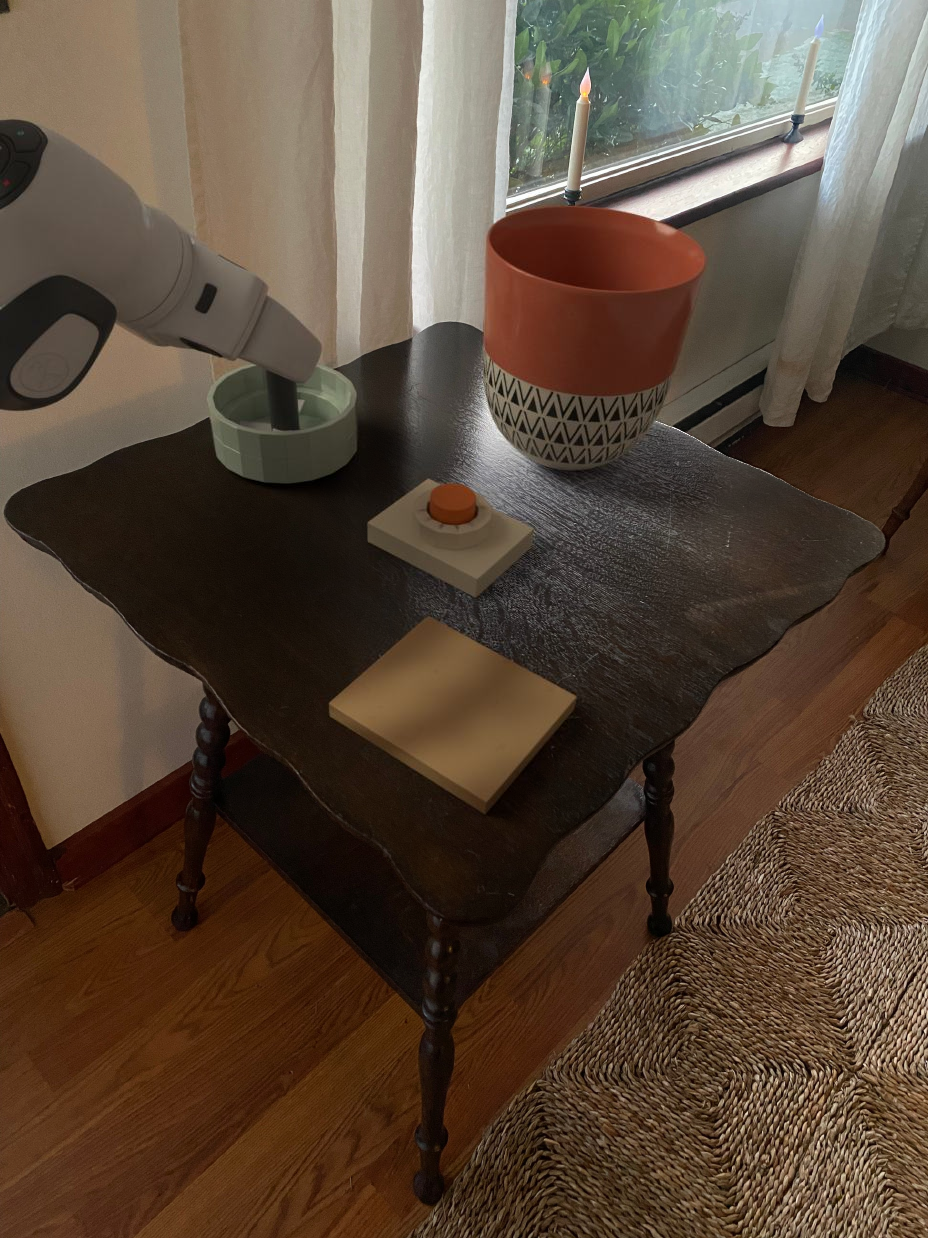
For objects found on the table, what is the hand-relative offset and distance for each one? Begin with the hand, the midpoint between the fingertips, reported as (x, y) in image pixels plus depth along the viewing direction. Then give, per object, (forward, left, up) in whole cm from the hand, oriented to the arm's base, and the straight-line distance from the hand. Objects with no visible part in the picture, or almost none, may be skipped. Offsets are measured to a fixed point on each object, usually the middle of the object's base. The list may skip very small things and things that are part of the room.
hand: (261, 353), depth 82 cm
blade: (0, +2, -11) cm, 11 cm away
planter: (+22, +20, -11) cm, 32 cm away
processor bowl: (0, +2, -11) cm, 12 cm away
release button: (+22, 0, -8) cm, 23 cm away
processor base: (+22, 0, -11) cm, 25 cm away
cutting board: (+34, -16, -11) cm, 39 cm away
